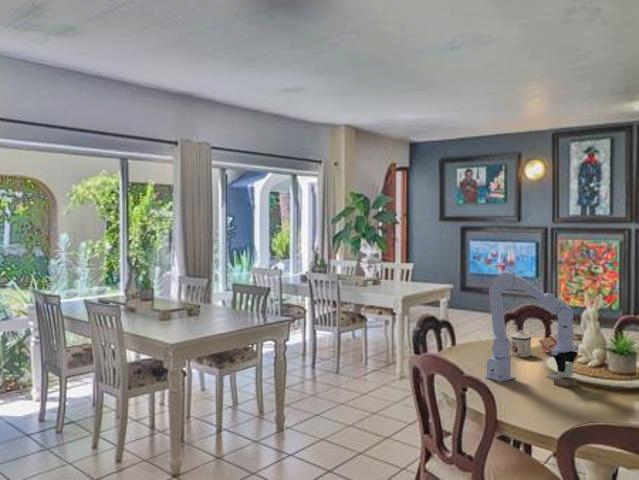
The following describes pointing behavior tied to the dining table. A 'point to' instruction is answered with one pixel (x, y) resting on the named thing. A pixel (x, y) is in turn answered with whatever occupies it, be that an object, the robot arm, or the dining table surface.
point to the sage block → (566, 370)
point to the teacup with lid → (521, 344)
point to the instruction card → (552, 376)
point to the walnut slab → (565, 381)
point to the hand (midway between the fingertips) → (564, 370)
